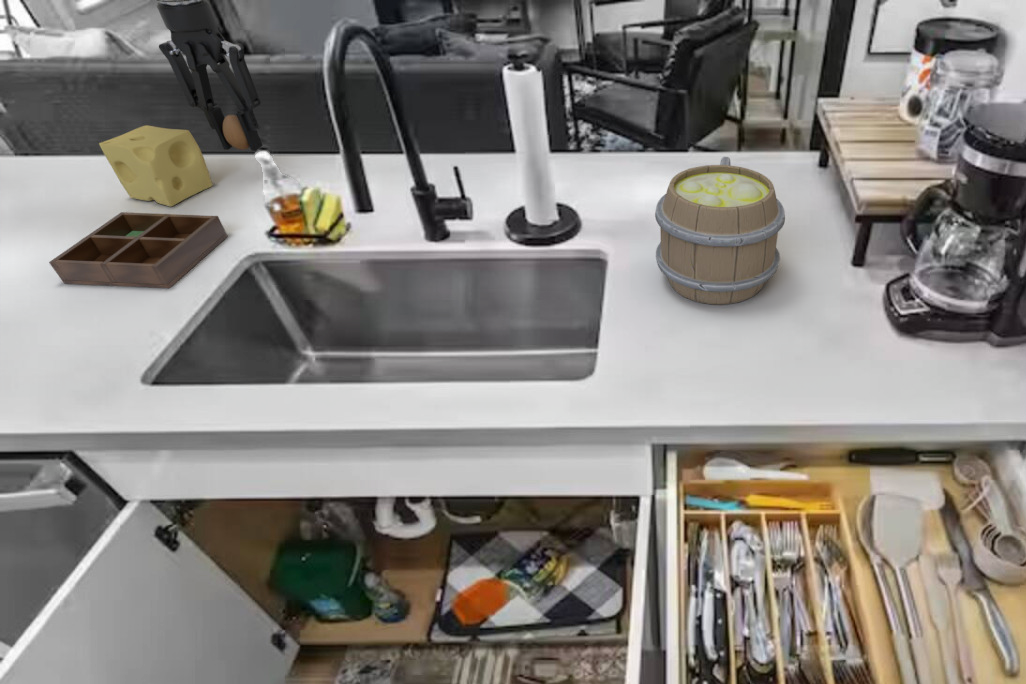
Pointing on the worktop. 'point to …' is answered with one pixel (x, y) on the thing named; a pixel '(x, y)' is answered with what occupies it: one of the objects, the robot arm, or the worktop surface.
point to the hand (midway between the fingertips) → (243, 147)
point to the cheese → (158, 164)
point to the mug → (719, 233)
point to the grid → (140, 250)
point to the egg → (234, 132)
